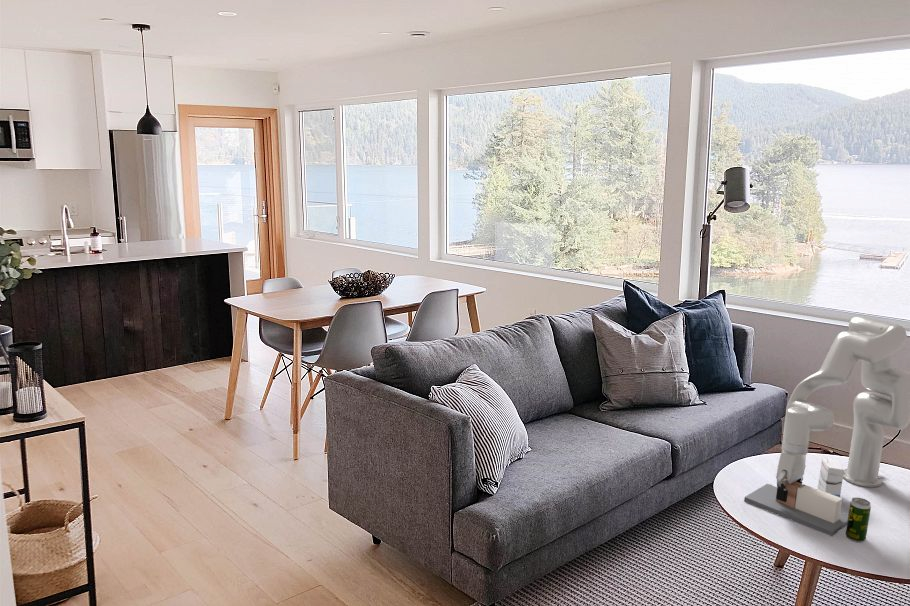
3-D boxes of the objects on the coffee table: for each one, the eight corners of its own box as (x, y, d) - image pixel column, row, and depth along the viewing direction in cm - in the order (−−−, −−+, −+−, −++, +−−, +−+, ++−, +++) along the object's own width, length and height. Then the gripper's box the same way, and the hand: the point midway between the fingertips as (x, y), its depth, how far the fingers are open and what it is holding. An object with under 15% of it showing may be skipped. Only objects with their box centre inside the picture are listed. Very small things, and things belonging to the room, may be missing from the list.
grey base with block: (766, 487, 251) (769, 464, 249) (852, 520, 231) (856, 494, 229) (744, 501, 242) (746, 476, 240) (832, 536, 221) (836, 510, 219)
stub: (781, 497, 242) (784, 477, 240) (799, 504, 237) (802, 483, 236) (775, 500, 239) (778, 480, 238) (793, 507, 235) (796, 487, 233)
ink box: (840, 503, 242) (844, 469, 239) (823, 501, 243) (828, 468, 240) (832, 491, 250) (837, 458, 247) (816, 489, 251) (821, 457, 248)
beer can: (850, 531, 224) (855, 495, 221) (868, 539, 220) (874, 502, 217) (842, 537, 221) (847, 500, 218) (860, 545, 217) (866, 507, 214)
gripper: (795, 435, 242) (789, 483, 246) (770, 449, 231) (764, 499, 235) (819, 443, 237) (812, 492, 241) (793, 457, 226) (787, 508, 229)
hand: (788, 495), depth 238 cm, fingers open, 9 cm apart
